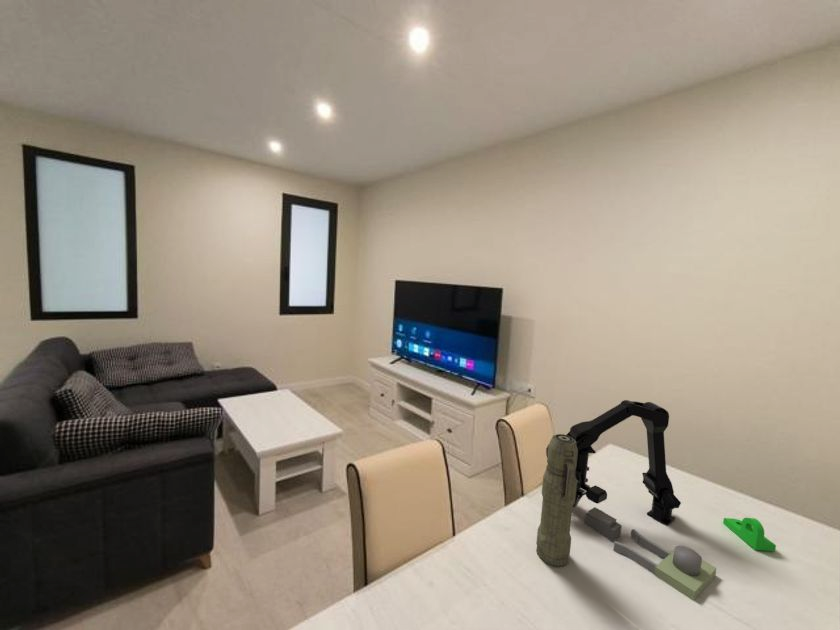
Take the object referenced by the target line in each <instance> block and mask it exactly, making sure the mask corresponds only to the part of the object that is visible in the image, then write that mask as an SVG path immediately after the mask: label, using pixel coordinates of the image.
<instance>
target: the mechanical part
mask: <svg viewBox="0 0 840 630" xmlns="http://www.w3.org/2000/svg"><path fill="white" fill-rule="evenodd" d="M722 523H723V524H722V525H724V526H726V527H727V528H728V529H729V530H731V531H732V532H733V533H734V534H736V535H737V536H738V537H739V538H740V539H741V540H742V541H744V542H745V543H746V544H747V545H749V547H751V548H752V549H754V550H755V551H767V552H768V551H769V552H776V547H777V545H776V544H775V543H774V542H772V541H771V540H770V539H769V538H768V537H766V536H765V529H764V528H765V527H764V526H763V525H762V523H761V521H759V520H758V519H757V518H754V517H743V518H742V520H740V519H737V518H730V517H723V521H722Z"/></svg>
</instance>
